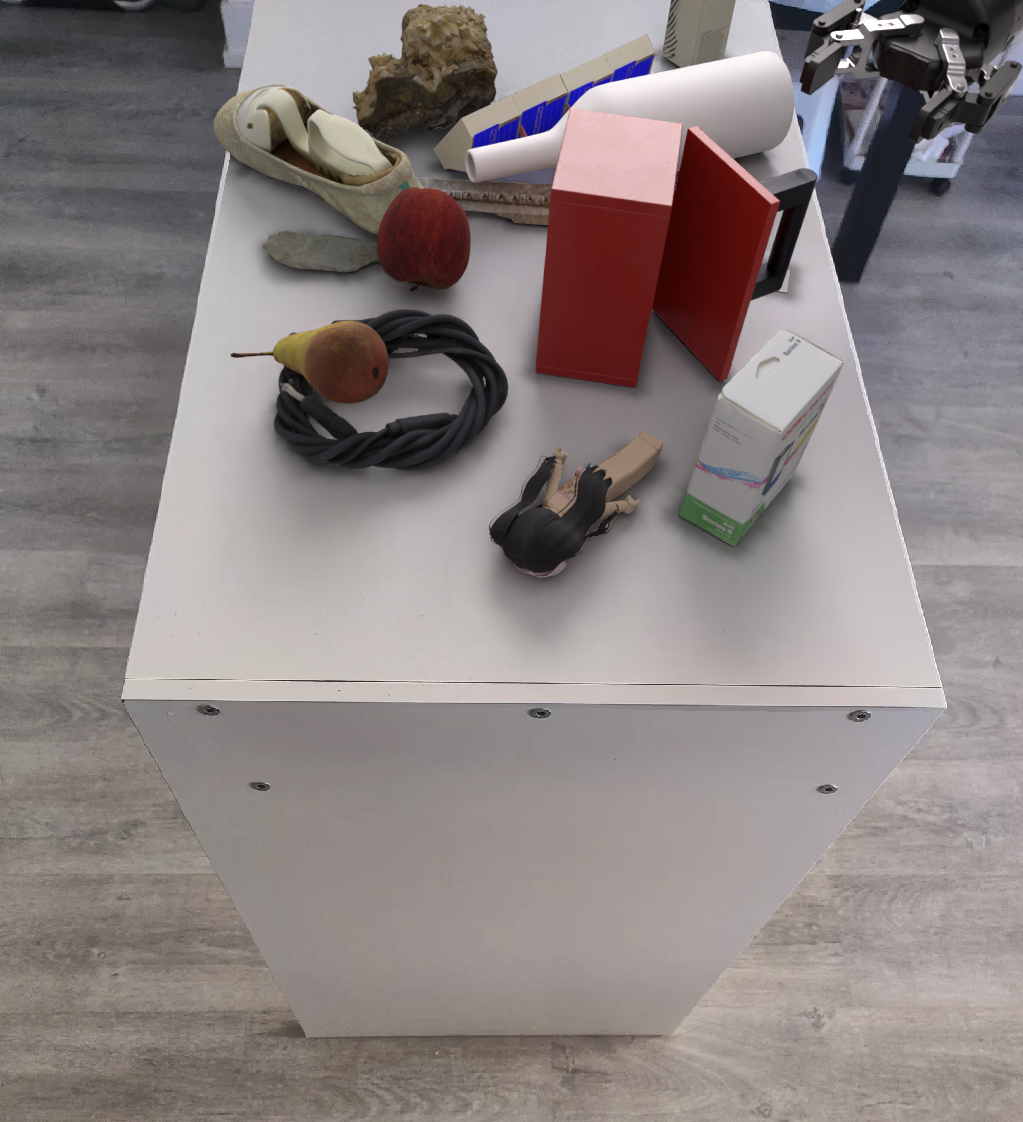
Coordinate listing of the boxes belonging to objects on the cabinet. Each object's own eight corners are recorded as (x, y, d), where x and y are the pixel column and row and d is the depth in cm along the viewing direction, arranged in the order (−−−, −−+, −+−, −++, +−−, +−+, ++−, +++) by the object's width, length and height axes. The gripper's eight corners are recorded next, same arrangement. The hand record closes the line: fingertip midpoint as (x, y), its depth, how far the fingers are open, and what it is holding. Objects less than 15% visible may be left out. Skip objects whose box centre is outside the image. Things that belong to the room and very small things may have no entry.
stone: (400, 233, 87) (394, 264, 84) (399, 251, 88) (394, 282, 85) (268, 219, 86) (257, 249, 83) (270, 237, 87) (259, 267, 84)
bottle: (807, 99, 89) (495, 168, 82) (770, 168, 97) (481, 238, 89) (767, 27, 91) (457, 89, 83) (733, 101, 99) (447, 164, 91)
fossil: (599, 187, 92) (602, 185, 88) (595, 228, 93) (598, 228, 89) (399, 173, 92) (394, 170, 88) (399, 214, 93) (393, 213, 89)
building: (647, 30, 95) (666, 72, 96) (610, 64, 101) (629, 103, 102) (462, 116, 87) (485, 161, 88) (433, 149, 92) (455, 191, 93)
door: (710, 286, 86) (756, 106, 73) (780, 357, 82) (842, 179, 69) (651, 308, 84) (687, 127, 71) (719, 381, 80) (771, 204, 67)
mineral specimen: (359, 68, 100) (350, -46, 92) (490, 70, 101) (493, -42, 93) (355, 155, 93) (346, 41, 85) (497, 157, 94) (501, 44, 85)
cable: (507, 352, 81) (510, 306, 77) (506, 486, 74) (509, 443, 70) (289, 343, 80) (281, 297, 76) (267, 478, 73) (257, 434, 69)
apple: (490, 280, 85) (493, 191, 78) (427, 327, 82) (425, 238, 75) (423, 241, 87) (421, 151, 80) (360, 285, 84) (352, 196, 77)
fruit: (367, 309, 67) (245, 282, 73) (334, 391, 67) (215, 357, 73) (414, 348, 71) (296, 320, 77) (383, 424, 72) (267, 390, 78)
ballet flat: (260, 90, 95) (226, 13, 88) (463, 193, 88) (445, 119, 81) (202, 151, 94) (163, 78, 87) (404, 262, 86) (379, 192, 79)
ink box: (735, 447, 77) (778, 320, 67) (795, 481, 76) (848, 355, 65) (675, 516, 73) (710, 391, 63) (736, 552, 72) (783, 431, 62)
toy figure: (582, 432, 77) (472, 555, 70) (603, 371, 72) (486, 497, 65) (662, 481, 76) (559, 611, 69) (689, 423, 71) (581, 557, 64)
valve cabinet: (647, 307, 85) (683, 122, 71) (635, 388, 80) (672, 205, 66) (551, 293, 85) (570, 107, 72) (534, 372, 80) (551, 188, 67)
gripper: (900, -73, 76) (788, 6, 69) (1080, -4, 71) (980, 88, 64) (865, 34, 82) (759, 117, 75) (1029, 103, 78) (933, 197, 71)
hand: (861, 103), depth 70 cm, fingers open, 8 cm apart
